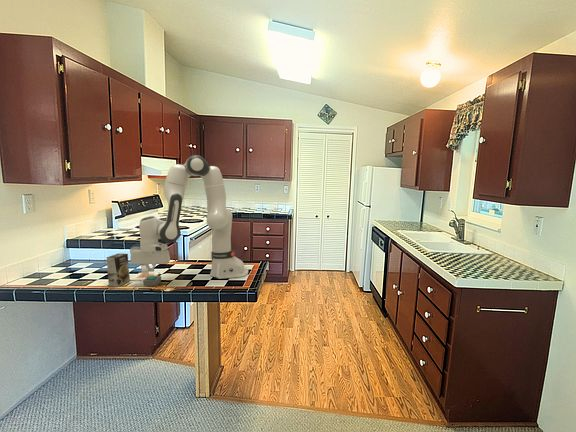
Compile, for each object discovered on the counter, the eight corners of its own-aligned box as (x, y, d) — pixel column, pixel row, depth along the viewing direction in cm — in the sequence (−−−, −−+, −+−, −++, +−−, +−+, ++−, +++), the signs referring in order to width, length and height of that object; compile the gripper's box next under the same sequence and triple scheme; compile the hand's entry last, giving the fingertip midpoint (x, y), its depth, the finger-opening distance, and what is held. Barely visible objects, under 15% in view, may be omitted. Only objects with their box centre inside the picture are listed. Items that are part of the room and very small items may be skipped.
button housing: (161, 281, 175) (160, 276, 175) (156, 285, 168) (156, 280, 168) (148, 281, 175) (148, 276, 175) (143, 286, 168) (142, 280, 168)
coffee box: (118, 287, 167) (116, 257, 164) (108, 286, 168) (105, 257, 166) (130, 281, 176) (128, 253, 173) (120, 280, 177) (118, 252, 175)
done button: (156, 278, 173) (156, 275, 173) (154, 280, 170) (154, 277, 169) (150, 278, 173) (149, 275, 173) (147, 280, 169) (147, 277, 169)
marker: (150, 274, 184) (148, 259, 182) (147, 276, 180) (145, 261, 179) (144, 274, 184) (142, 259, 183) (141, 276, 180) (139, 261, 179)
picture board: (159, 273, 188) (159, 272, 188) (152, 280, 176) (152, 278, 176) (139, 274, 188) (139, 272, 188) (130, 281, 176) (130, 279, 176)
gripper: (127, 248, 165) (129, 273, 167) (166, 247, 166) (167, 272, 168) (132, 245, 171) (134, 269, 173) (170, 245, 172) (171, 269, 174)
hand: (151, 271), depth 171 cm, fingers closed
